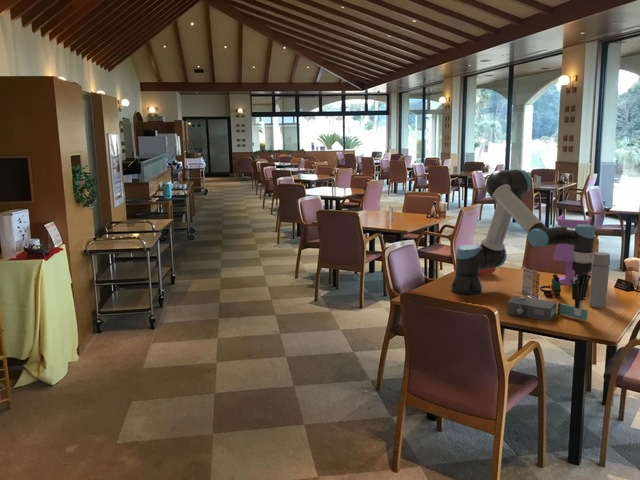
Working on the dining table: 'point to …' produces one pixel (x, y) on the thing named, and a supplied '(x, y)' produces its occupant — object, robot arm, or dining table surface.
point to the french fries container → (486, 270)
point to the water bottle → (599, 280)
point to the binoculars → (553, 288)
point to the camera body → (532, 308)
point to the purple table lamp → (567, 250)
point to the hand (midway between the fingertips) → (577, 314)
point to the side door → (571, 311)
